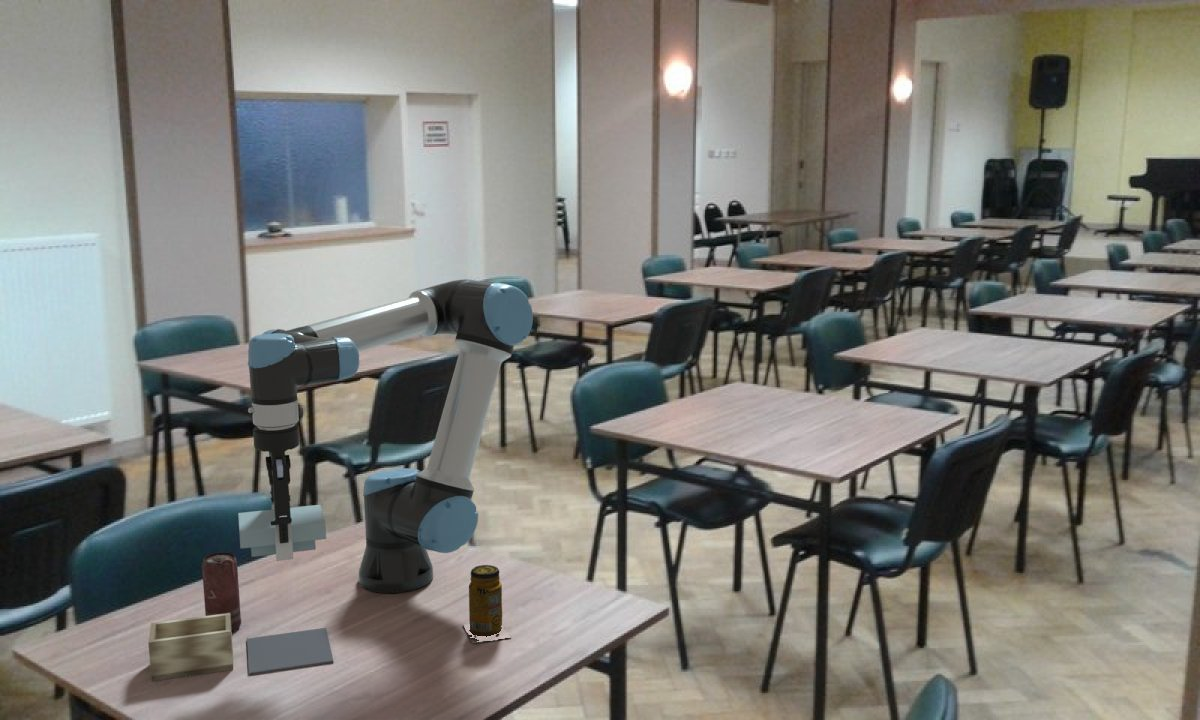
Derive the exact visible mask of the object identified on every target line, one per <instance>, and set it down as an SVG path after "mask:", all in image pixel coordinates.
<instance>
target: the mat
mask: <svg viewBox="0 0 1200 720" xmlns="http://www.w3.org/2000/svg"><path fill="white" fill-rule="evenodd" d="M328 635H329V634H328V631H327V627H321V628H320V627H319V628H314V629H307V630H300V631H299V630H298V631H293V632H291V631H290V632H285V633H278V634H270V635H263V636H256V637H249V638H246V644H247V645H246V646H247V663H248V665H247V666H248V676H252V675H258V674H259V675H260V674H266V673H267V674H268V673H273V672H279V671H287V670H293V669H300V668H306V667H312V666H313V667H314V666H319V665H320V666H321V665H327V664H333V663H334V657H333V652H332V649H331V644H330V639H329V636H328Z"/></svg>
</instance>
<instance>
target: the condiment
mask: <svg viewBox="0 0 1200 720" xmlns="http://www.w3.org/2000/svg"><path fill="white" fill-rule="evenodd" d="M502 590H503V587H502V583H501V581H500V569H499V568H498V567H497V566H496V565H490V564H481V565H477V566H474V567H473V568H471V570H470V583H469V584H468V607H469V609H468V613H469V614H468V615H469V616H468V617H469V619H468V620H469V624H470V630H469V631H470V632H471V633H472V634H473V635H477V636H486V637H487V636H491V635H494V634H497V633H499V632H500V631H501V629H502V627H501V626H502V625H503V599H502V598H503V591H502ZM466 635H467V636H468V638H469V640H470V642H471V644H482V643H483V642H479V643H478V642H477V641H479V640H477V639H475V638H470V637H472V635H468V634H466Z"/></svg>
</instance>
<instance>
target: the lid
mask: <svg viewBox="0 0 1200 720" xmlns="http://www.w3.org/2000/svg"><path fill="white" fill-rule="evenodd" d="M290 514H291V518H292V521H291V529H292V546H293V553H298V552H305V551H307V552H308V551H316V541H319V540H320V541H321V540H327V530H326V529H327V527H326V520H325V516H324V513H323V510H322V506H321V504H315V505H313V504H312V505H305V506H304V505H301V506H295V507H290ZM237 516H238V527H239V528H238V531H239V546H240V547H239V548H240V549H241V550H242V549H249V548H250V553H251V558H252V557H253V558H254V557H255V558H256V557H262V556H263V557H264V556H270V555H271V556H272V555H276V543H275V526H274V525H272V526H271V521H274V520H275V511H274V509H273V510H272V509H264V510H255V511H246V512H238V515H237ZM280 517H286V516H280Z"/></svg>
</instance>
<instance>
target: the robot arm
mask: <svg viewBox="0 0 1200 720" xmlns="http://www.w3.org/2000/svg"><path fill="white" fill-rule="evenodd" d="M533 321H534V313H533V307H532V304H531V303H530V301H529V297H528V296H527V295H526V293H525V292H524V291H522V289H520V288H518V287H516V286H514V285H510V284H507V283H502V282H500V281H499V282H492V281H482V280H475V279H474V280H473V279H465V278H464V279H456V280H451V281H447V282H444V283H440V284H436V285H432V286H429V287H426V288H423V289H417V290H415V291H412V292H411V293H410V295H409V296H408V298H404V299H401V300H397V301H392V302H389V303H386V304H382V305H378V306H374V307H370V308H366V309H363V310H359V311H356V312H352V313H348V314H345V315H340V316H337V317H332V318H329V319H325V320H322V321H319V322H315V323H311V324H307V325H305V326H304V325H303V326H298V327H295V328H291V329H287V330H285V329H279V328H276V329H275V328H274V329H268V330H266V331H264V332H263V333H261V334H257V335H255V336H253V337H251V338H250V340H249V341H248V350H247V351H248V355H247V356H248V357H247V358H248V361H247V365H248V370H249V382H250V383H249V385H250V386H249V387H250V399H251V400H250V401H251V406H252V407H248V409H247V411H248V413H249V414H252V424H253V425H254V428H253V429H252V433H253V447H254V448H255V450H257V451H259V452H264V453H265V452H268V456H265V466H266V471H267V476H268V481H269V482H268V483H269V486H270V492H269V493H270V496H271V497H270V501H271V510H273V509H274V511H275V520H274V521H271V526H272V525H274V526H275V543H276V554H275V557H276V561H277V562H281V561H288V560H294V552H293V546H292V529H291V521H292V518H291V514H290V508H291V503H290V502H291V499H292V498H291V495H290V488H289V487H290V486H289V485H290V483H291V473H290V472H291V471H290V470H291V466H292V465H291V458H290V454H286V452H287V451H288V450H293V449H296V448H297V447H298V446H300V427H299V425H298V424H297V423H298V422H299V421H300V419H299V402H298V400H299V399H298V388H299V387H305V386H311V385H320V384H324V383H330V382H340V381H342V380H345V379H349V378H353V377H354V376H355V375H356V374H357V372H358V370H359V369H360V368H359V367H360V352H362V351H367V350H370V349H374V348H377V347H380V346H383V345H387V344H389V343H394V342H397V341H400V340H404V339H407V338H411V337H413V336H418V335H420V336H422V337H424V338H428V337H431V336H435V335H442V334H443V335H445V334H447V335H455V338H454V339H455V340H454V342H455V344H456V346H457V347H458V351H459V354H458V357H457V360H456V364H455V366H454V367H455V368H454V370H453V371H454V372H453V375H452V378H451V382H450V384H449V385H450V386H449V389H448V392H447V396H446V398H445V399H446V400H445V401H444V402H445V403H444V407H443V409H442V414H441V416H440V417H441V418H440V420H439V424H438V427H437V431H436V435H435V437H434V438H435V439H434V442H433V445H432V449H431V452H430V456H429V460H428V464H427V467H425V468H424V469H423V470H419V469H418V468H417V469H416V468H407V467H406V468H393V469H387V470H383V471H379V472H375V473H372V474H370V475H368V476H367V477H366V479H365V480H364V482H363V494H362V497H363V504H364V505H363V506H364V522H365V523H364V525H365V543H366V544H365V545H366V546H365V548H364V553H363V555H362V559H361V562H360V567H359V568H358V569H359V570H358V583H359V585H360V586H361V587H362V588H364V590H367V591H370V592H375V593H383V594H394V593H396V594H398V593H404V592H405V593H406V592H411V591H414V590H417V589H420V588H422V587H424V586H427V585H429V583H431V582H432V580H433V578H434V566H433V564H432V561H431V558H430V555H429V553H428V551H432V552H436V553H441V554H448V553H453V552H455V551H457V550H460V548H461V547H462V546H463V547H464V546H465V545H466V544H467V543H468V542H469V541H470V540H471V538H472V537H473V536H474V533H475V531H476V529H477V526H478V523H479V512H478V511H477V505H476V504H475V503H474V502H473V500H472V498H473V495H474V491H475V487H474V486H473V484H472V482H471V479H470V478H471V474H472V470H473V466H474V463H475V459H476V455H477V452H478V449H479V444H480V441H481V439H482V438H481V437H482V435H483V430H484V427H485V423H486V419H487V417H488V412H489V408H490V406H491V403H492V402H491V401H492V399H493V395H494V391H495V387H496V384H497V380H498V377H499V373H500V369H501V366H502V363H503V362H504V361H506V360H508V359H509V358H511V357H512V355H513V351H514V348H515V346H517V345H519V344H521V343H522V342H523V341H524V340H525V339H527V338H528V336H529V335H530V333H531V330H532V328H533ZM280 516H286V517H280Z"/></svg>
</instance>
